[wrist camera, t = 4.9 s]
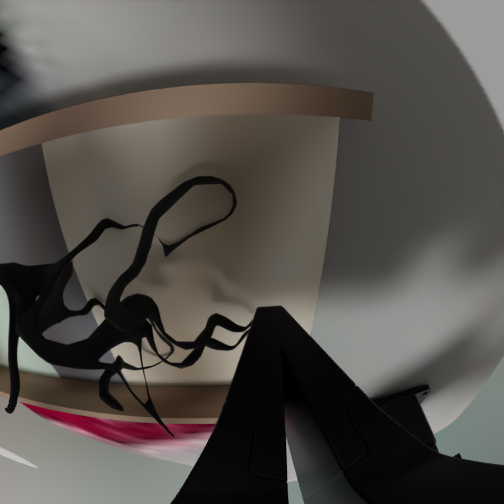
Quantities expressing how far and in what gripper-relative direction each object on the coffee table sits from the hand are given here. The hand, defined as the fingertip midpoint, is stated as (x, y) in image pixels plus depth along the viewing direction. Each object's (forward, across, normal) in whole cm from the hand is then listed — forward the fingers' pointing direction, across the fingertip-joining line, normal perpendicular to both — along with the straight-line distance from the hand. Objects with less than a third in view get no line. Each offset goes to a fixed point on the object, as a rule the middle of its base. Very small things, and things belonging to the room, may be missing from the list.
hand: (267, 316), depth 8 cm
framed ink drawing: (+2, +10, 0) cm, 10 cm away
